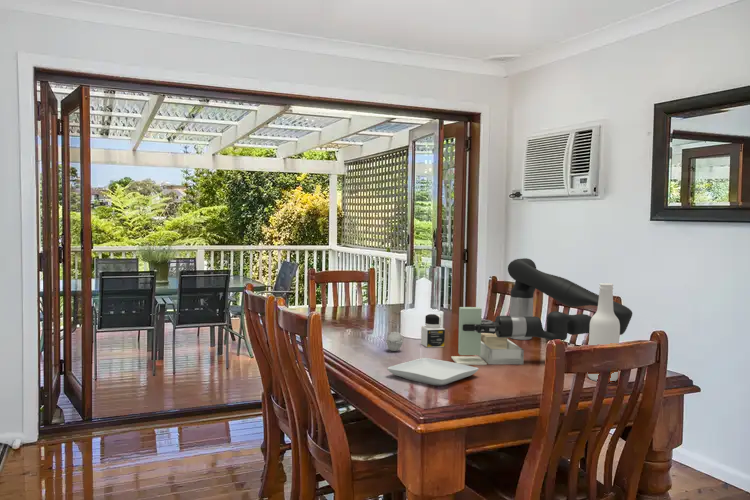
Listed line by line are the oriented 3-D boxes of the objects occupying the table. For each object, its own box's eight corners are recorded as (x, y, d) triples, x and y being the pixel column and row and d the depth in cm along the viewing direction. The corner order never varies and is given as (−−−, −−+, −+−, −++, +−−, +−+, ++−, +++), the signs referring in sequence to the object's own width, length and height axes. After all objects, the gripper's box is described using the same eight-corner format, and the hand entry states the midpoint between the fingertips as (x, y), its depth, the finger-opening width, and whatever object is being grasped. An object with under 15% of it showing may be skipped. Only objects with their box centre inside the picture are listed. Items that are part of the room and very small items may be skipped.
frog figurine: (404, 349, 225) (404, 331, 225) (400, 353, 219) (400, 334, 218) (388, 348, 227) (389, 330, 227) (383, 352, 220) (384, 333, 220)
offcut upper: (480, 340, 224) (480, 333, 224) (500, 339, 225) (501, 333, 225) (486, 343, 218) (486, 336, 218) (507, 343, 219) (507, 336, 219)
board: (458, 352, 210) (459, 307, 209) (478, 352, 211) (479, 307, 210) (460, 355, 207) (461, 308, 206) (480, 355, 207) (481, 308, 206)
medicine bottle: (427, 347, 230) (427, 316, 229) (420, 344, 237) (421, 313, 236) (444, 347, 232) (445, 316, 231) (437, 343, 239) (438, 313, 238)
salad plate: (424, 366, 203) (424, 355, 202) (480, 377, 189) (480, 366, 189) (384, 378, 186) (384, 367, 186) (442, 391, 173) (443, 379, 173)
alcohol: (610, 375, 194) (614, 282, 192) (622, 383, 185) (626, 285, 183) (583, 375, 193) (586, 281, 192) (594, 382, 184) (598, 284, 183)
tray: (474, 351, 225) (474, 338, 225) (506, 351, 226) (506, 338, 226) (488, 364, 205) (489, 349, 205) (523, 364, 206) (523, 349, 206)
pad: (451, 358, 213) (451, 356, 213) (479, 358, 214) (479, 356, 214) (457, 364, 204) (457, 363, 203) (486, 364, 204) (486, 363, 204)
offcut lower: (480, 346, 224) (480, 339, 224) (501, 346, 225) (501, 340, 225) (484, 350, 218) (485, 343, 218) (506, 350, 219) (506, 343, 219)
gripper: (516, 341, 202) (466, 341, 201) (504, 333, 217) (456, 333, 215) (517, 319, 202) (466, 319, 201) (504, 312, 216) (457, 312, 215)
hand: (461, 326), depth 208 cm, fingers closed on board, 3 cm apart
